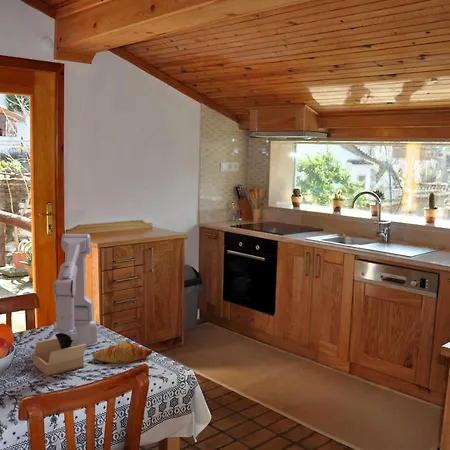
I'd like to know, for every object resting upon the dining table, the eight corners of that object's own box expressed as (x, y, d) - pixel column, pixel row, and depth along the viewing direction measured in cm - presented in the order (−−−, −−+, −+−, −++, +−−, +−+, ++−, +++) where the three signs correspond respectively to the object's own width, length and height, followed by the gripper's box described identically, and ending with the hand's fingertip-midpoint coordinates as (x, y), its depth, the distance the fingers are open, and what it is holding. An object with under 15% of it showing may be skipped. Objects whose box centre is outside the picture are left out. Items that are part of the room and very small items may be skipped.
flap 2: (85, 343, 185) (86, 344, 185) (82, 355, 188) (82, 356, 187) (50, 351, 177) (51, 352, 177) (47, 364, 180) (48, 365, 180)
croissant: (92, 372, 192) (90, 357, 188) (93, 350, 200) (91, 335, 196) (152, 368, 196) (152, 353, 191) (151, 346, 204) (151, 332, 199)
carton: (68, 356, 198) (68, 345, 197) (83, 366, 189) (83, 355, 188) (33, 365, 189) (32, 353, 189) (46, 376, 180) (46, 364, 180)
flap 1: (67, 345, 197) (67, 344, 197) (71, 335, 194) (70, 334, 194) (34, 353, 189) (33, 352, 189) (37, 342, 186) (36, 341, 186)
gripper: (44, 311, 183) (45, 350, 185) (62, 322, 172) (63, 363, 174) (64, 307, 188) (65, 345, 190) (83, 318, 177) (83, 358, 179)
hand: (65, 354), depth 182 cm, fingers closed, pressing on flap 2
